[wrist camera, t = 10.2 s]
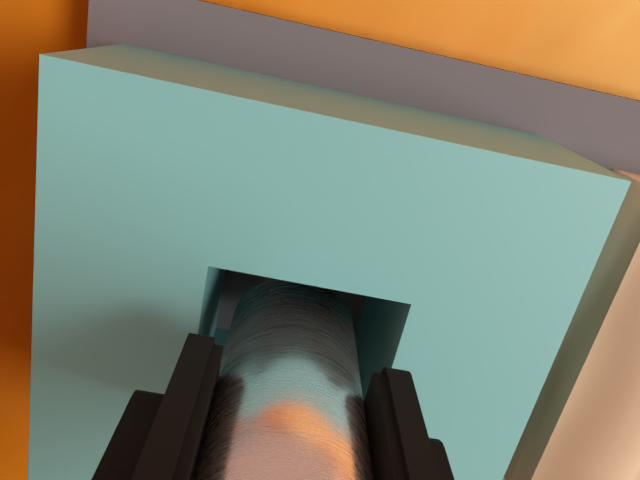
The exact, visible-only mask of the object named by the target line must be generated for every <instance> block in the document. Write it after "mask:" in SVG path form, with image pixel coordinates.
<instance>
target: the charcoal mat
mask: <svg viewBox="0 0 640 480" xmlns="http://www.w3.org/2000/svg"><path fill="white" fill-rule="evenodd" d="M118 44H127V45H132V46H137V47H141V48H146V49H150V50H155V51H159V52H164V53H168V54H173V55H178V56H182V57H187V58H191V59H196V60H200V61H205V62H209V63H214V64H219V65H223V66H228V67H232V68H237V69H241V70H246V71H250V72H255V73H260V74H264V75H269V76H273V77H278V78H282V79H287V80H292V81H296V82H301V83H305V84H310V85H314V86H319V87H323V88H328V89H333V90H337V91H342V92H346V93H351V94H355V95H360V96H364V97H369V98H374V99H378V100H383V101H387V102H392V103H396V104H401V105H405V106H410V107H415V108H419V109H424V110H428V111H433V112H437V113H442V114H446V115H451V116H456V117H460V118H465V119H469V120H474V121H478V122H483V123H488V124H492V125H497V126H501V127H506V128H510V129H515V130H519V131H524V132H529V133H533V134H538V135H541V136H543V137H545V138H547V139H549V140H551V141H553V142H555V143H557V144H559V145H561V146H563V147H565V148H567V149H569V150H571V151H573V152H575V153H577V154H579V155H580V156H582V157H584V158H586V159H588V160H590V161H592V162H594V163H596V164H598V165H600V166H602V167H604V168H606V169H608V170H610V171H613V169H617V170H621V171H626V172H630V173H635V174H640V101H638V100H634V99H629V98H625V97H621V96H616V95H612V94H607V93H603V92H599V91H594V90H590V89H586V88H581V87H577V86H573V85H568V84H564V83H559V82H555V81H551V80H546V79H542V78H538V77H533V76H529V75H524V74H520V73H516V72H511V71H507V70H503V69H498V68H494V67H489V66H485V65H481V64H476V63H472V62H468V61H463V60H459V59H454V58H450V57H446V56H441V55H437V54H433V53H428V52H424V51H420V50H415V49H411V48H406V47H402V46H398V45H393V44H389V43H385V42H380V41H376V40H371V39H367V38H363V37H358V36H354V35H350V34H345V33H341V32H336V31H332V30H328V29H323V28H319V27H315V26H310V25H306V24H301V23H297V22H293V21H288V20H284V19H280V18H275V17H271V16H266V15H262V14H258V13H253V12H249V11H245V10H240V9H236V8H232V7H227V6H223V5H218V4H214V3H210V2H205V1H201V0H89V4H88V22H87V40H86V48H93V47H101V46H109V45H118ZM268 278H269V277H263V276H258V275H253V274H247V273H242V272H237V271H231V270H225V276H224V282H223V288H222V294H221V300H220V306H219V312H218V318H217V324H216V328H219V329H225V330H229V329H230V325H231V322H232V318H233V314H234V311H235V308H236V306H237V304H238V302H239V301H240V299H241V298H242V297H243V295H244V294H245V293H246V292H247V291H248V290H249V289H250V288H252V287H253V286H255V285H256V284H257V283H259V282H261V281H263V280H265V279H268ZM336 291H337V292H338V293H339V294H340V295H341V296H342V298H343V299H344V300H345V302H346V304H347V305H348V307H349V310H350V312H351V315H352V319H353V327H354V335H356V331H357V328H358V324H359V320H360V317H361V313H362V309H363V306H364V302H365V298H366V296H364V295H359V294H354V293H348V292H343V291H338V290H336ZM503 480H505V478H504V477H503Z"/></svg>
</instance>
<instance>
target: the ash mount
mask: <svg viewBox="0 0 640 480" xmlns="http://www.w3.org/2000/svg"><path fill="white" fill-rule="evenodd" d="M612 172H614V173H616V174H618V175H620V176H622V177H624V178H626V179H628V180H630V181H631V184H630V186H629V188H628V191H627V193H626V195H625V198H624V200H623V202H622V205H621V207H620V209H619V212H618V214H617V216H616V218H615V221H614V223H613V225H612V228H611V230H610V232H609V235H608V237H607V239H606V242H605V244H604V246H603V248H602V251H601V253H600V255H599V258H598V260H597V262H596V265H595V267H594V269H593V272H592V274H591V276H590V279H589V281H588V283H587V285H586V288H585V290H584V292H583V295H582V297H581V299H580V302H579V304H578V306H577V309H576V311H575V313H574V316H573V318H572V320H571V322H570V325H569V327H568V329H567V332H566V334H565V336H564V339H563V341H562V343H561V346H560V348H559V350H558V352H557V355H556V357H555V359H554V362H553V364H552V366H551V369H550V371H549V373H548V376H547V378H546V380H545V383H544V385H543V387H542V389H541V392H540V394H539V396H538V399H537V401H536V403H535V406H534V408H533V410H532V413H531V415H530V417H529V420H528V422H527V424H526V426H525V429H524V431H523V433H522V436H521V438H520V440H519V443H518V445H517V447H516V450H515V452H514V454H513V456H512V459H511V461H510V463H509V466H508V468H507V470H506V473H505V475H504V478H505V480H640V174H635V173H630V172H626V171H621V170H617V169H613V171H612Z"/></svg>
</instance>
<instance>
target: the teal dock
mask: <svg viewBox="0 0 640 480" xmlns="http://www.w3.org/2000/svg"><path fill="white" fill-rule="evenodd" d="M630 184H631V181H630V180H628V179H626V178H624V177H622V176H620V175H618V174H616V173H614V172H612V171H610V170H608V169H606V168H604V167H602V166H600V165H598V164H596V163H594V162H592V161H590V160H588V159H586V158H584V157H582V156H580V155H579V154H577V153H575V152H573V151H571V150H569V149H567V148H565V147H563V146H561V145H559V144H557V143H555V142H553V141H551V140H549V139H547V138H545V137H543V136H541V135H538V134H533V133H529V132H524V131H519V130H515V129H510V128H506V127H501V126H497V125H492V124H488V123H483V122H478V121H474V120H469V119H465V118H460V117H456V116H451V115H446V114H442V113H437V112H433V111H428V110H424V109H419V108H415V107H410V106H405V105H401V104H396V103H392V102H387V101H383V100H378V99H374V98H369V97H364V96H360V95H355V94H351V93H346V92H342V91H337V90H333V89H328V88H323V87H319V86H314V85H310V84H305V83H301V82H296V81H292V80H287V79H282V78H278V77H273V76H269V75H264V74H260V73H255V72H250V71H246V70H241V69H237V68H232V67H228V66H223V65H219V64H214V63H209V62H205V61H200V60H196V59H191V58H187V57H182V56H178V55H173V54H168V53H164V52H159V51H155V50H150V49H146V48H141V47H137V46H132V45H127V44H118V45H109V46H101V47H93V48H85V49H76V50H68V51H60V52H52V53H43V54H39V83H38V121H37V158H36V195H35V232H34V270H33V307H32V344H31V381H30V418H29V456H28V480H91V479H92V477H93V475H94V473H95V471H96V469H97V467H98V465H99V463H100V460H101V458H102V456H103V454H104V452H105V450H106V448H107V446H108V444H109V442H110V440H111V438H112V435H113V433H114V431H115V429H116V427H117V425H118V423H119V421H120V419H121V417H122V415H123V413H124V410H125V408H126V406H127V404H128V402H129V400H130V398H131V396H132V394H133V393H134V391H135V390H142V391H148V392H154V393H160V394H165V392H166V389H167V387H168V384H169V381H170V379H171V376H172V374H173V371H174V369H175V366H176V364H177V361H178V359H179V356H180V354H181V351H182V349H183V346H184V343H185V341H186V338H187V336H188V334H189V333H194V334H200V335H206V336H211V337H215V343H214V344H216V345H222V346H224V348H225V344H226V340H227V336H228V333H229V330H225V329H219V328H216V324H217V318H218V312H219V306H220V300H221V294H222V288H223V282H224V276H225V270H231V271H237V272H242V273H247V274H253V275H258V276H263V277H269V278H274V279H279V280H285V281H290V282H295V283H301V284H306V285H311V286H316V287H322V288H327V289H332V290H338V291H343V292H348V293H354V294H359V295H364V296H366V298H365V302H364V306H363V309H362V313H361V317H360V320H359V324H358V328H357V331H356V335H355V342H356V350H357V357H358V365H359V373H360V380H361V388H362V396H363V403H364V400H365V396H366V393H367V390H368V386H369V383H370V379H371V376H372V374H373V373H374V372H377V373H381V371H382V369H383V368H384V367H388V368H394V369H400V370H405V371H409V372H411V375H412V378H413V382H414V385H415V389H416V393H417V396H418V400H419V404H420V407H421V411H422V414H423V418H424V422H425V425H426V429H427V433H428V436H429V438H434V439H439V440H440V441H442V443H443V445H444V447H445V450H446V454H447V457H448V460H449V463H450V467H451V470H452V473H453V476H454V480H503V477H504V475H505V473H506V470H507V468H508V466H509V463H510V461H511V459H512V456H513V454H514V452H515V450H516V447H517V445H518V443H519V440H520V438H521V436H522V433H523V431H524V429H525V426H526V424H527V422H528V420H529V417H530V415H531V413H532V410H533V408H534V406H535V403H536V401H537V399H538V396H539V394H540V392H541V389H542V387H543V385H544V383H545V380H546V378H547V376H548V373H549V371H550V369H551V366H552V364H553V362H554V359H555V357H556V355H557V352H558V350H559V348H560V346H561V343H562V341H563V339H564V336H565V334H566V332H567V329H568V327H569V325H570V322H571V320H572V318H573V316H574V313H575V311H576V309H577V306H578V304H579V302H580V299H581V297H582V295H583V292H584V290H585V288H586V285H587V283H588V281H589V279H590V276H591V274H592V272H593V269H594V267H595V265H596V262H597V260H598V258H599V255H600V253H601V251H602V248H603V246H604V244H605V242H606V239H607V237H608V235H609V232H610V230H611V228H612V225H613V223H614V221H615V218H616V216H617V214H618V212H619V209H620V207H621V205H622V202H623V200H624V198H625V195H626V193H627V191H628V188H629V186H630ZM224 348H223V351H224ZM222 355H223V354H222Z"/></svg>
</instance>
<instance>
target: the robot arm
mask: <svg viewBox="0 0 640 480" xmlns="http://www.w3.org/2000/svg"><path fill="white" fill-rule="evenodd" d="M214 343H215V337H211V336H206V335H200V334H194V333H189V334H188V336H187V338H186V341H185V343H184V346H183V349H182V351H181V354H180V356H179V359H178V361H177V364H176V366H175V369H174V371H173V374H172V376H171V379H170V381H169V384H168V387H167V389H166V392H165V394H160V393H154V392H148V391H142V390H135V391H134V393H133V394H132V396H131V398H130V400H129V402H128V404H127V406H126V408H125V410H124V413H123V415H122V417H121V419H120V421H119V423H118V425H117V427H116V429H115V431H114V433H113V435H112V438H111V440H110V442H109V444H108V446H107V448H106V450H105V452H104V454H103V456H102V458H101V460H100V463H99V465H98V467H97V469H96V471H95V473H94V475H93V477H92V479H91V480H192V477H193V473H194V469H195V465H196V462H197V458H198V454H199V450H200V446H201V442H202V439H203V435H204V431H205V427H206V423H207V420H208V416H209V412H210V408H211V404H212V401H213V397H214V393H215V389H216V385H217V382H218V377H219V371H220V366H221V360H222V354H223V348H224V346H222V345H216V344H214ZM364 411H365V418H366V426H367V434H368V441H369V449H370V457H371V464H372V472H373V479H374V480H454V476H453V473H452V470H451V467H450V463H449V460H448V457H447V454H446V450H445V447H444V445H443V443H442V441H440V440H439V439H434V438H429V436H428V433H427V429H426V425H425V422H424V418H423V414H422V411H421V407H420V404H419V400H418V396H417V393H416V389H415V385H414V382H413V378H412V375H411V372H409V371H405V370H400V369H394V368H388V367H384V368H383V369H382V371H381V373H377V372H374V373H373V374H372V376H371V379H370V383H369V386H368V390H367V393H366V396H365V400H364Z"/></svg>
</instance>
